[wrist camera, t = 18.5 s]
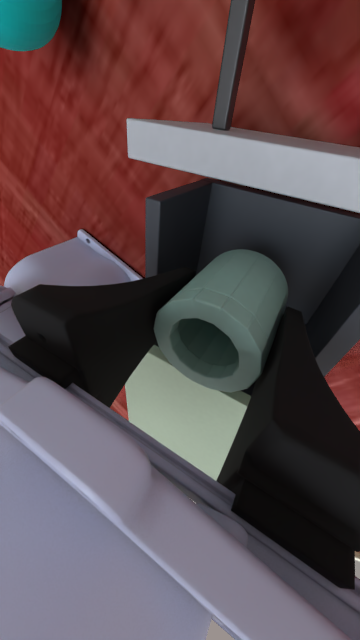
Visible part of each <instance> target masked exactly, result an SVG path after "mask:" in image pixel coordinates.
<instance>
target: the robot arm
mask: <svg viewBox="0 0 360 640" xmlns="http://www.w3.org/2000/svg"><path fill="white" fill-rule="evenodd" d="M195 274H196V271H195V270H193V269H190V268H187V267H183V268H179V269H175V270H172V271H169V272H165V273H162V274H159V275H155V276H151V277H147V278H142V277H141V276H140V275H138V274H137V273H136V272H135V271H133V270H132V269H131V268H130V267H129V266H127V265H126V264H125V263H124V262H122V261H121V260H120V259H119V258H117V257H116V256H115V255H114V254H113V253H111V252H110V251H109V250H108V249H106V248H105V247H104V246H103V245H101V244H100V243H99V242H98V241H97V240H95V239H94V238H93V237H92V236H90V235H89V234H88V233H87V232H85V231H84V230H83V229H81V230H78V234H77V237H76V238H73V239H71V240H68V241H66V242H63V243H60V244H58V245H55V246H53V247H50V248H47V249H45V250H42V251H40V252H37V253H34V254H32V255H29V256H27V257H25V258H24V259H22V260H21V261H19V262H18V263H17V264H16V265H15V266H14V267H13V268H12V269H11V270H10V271H9V273H8V274H7V276H6V279H5V283H4V286H0V640H206V636H207V633H208V629H209V625H210V622H211V619H212V620H213V621H215V622H216V623H217V624H218V625H219V626H220V627H221V628H223V629H224V630H225V631H226V632H227V633H228V634H229V635H231V636H232V637H233V638H234V639H235V640H360V579H358V578H357V577H355V551H356V552H359V551H360V431H359V430H358V428H357V427H356V426H355V425H354V423H353V422H352V421H351V419H350V418H349V416H348V415H347V414H346V412H345V411H344V409H343V408H342V406H341V405H340V403H339V402H338V400H337V399H336V397H335V396H334V394H333V392H332V391H331V389H330V387H329V386H328V384H327V382H326V380H325V378H324V376H323V374H322V372H321V371H320V368H319V366H318V364H317V361H316V359H315V356H314V354H313V351H312V348H311V345H310V342H309V339H308V335H307V332H306V328H305V323H304V318H303V314H302V312H301V311H299V310H296V309H294V308H291V307H288V306H287V308H286V310H285V312H284V314H283V315H282V318H281V320H280V323H279V326H278V328H277V332H276V335H275V338H274V341H273V344H272V347H271V349H270V352H269V355H268V357H267V360H266V363H265V366H264V368H263V371H262V374H261V375H260V376H259V378H258V379H257V380H256V382H255V386H254V389H253V393H252V396H251V399H250V401H249V404H248V406H247V409H246V411H245V414H244V416H243V419H242V421H241V424H240V426H239V429H238V431H237V433H236V436H235V438H234V441H233V443H232V445H231V448H230V450H229V452H228V455H227V457H226V460H225V462H224V464H223V467H222V469H221V471H220V474H219V476H218V478H217V481H215V480H214V479H212V478H211V477H209V476H208V475H207V474H205V473H204V472H202V471H201V470H199V469H198V468H196V467H195V466H193V465H192V464H190V463H189V462H188V461H186V460H185V459H183V458H182V457H180V456H179V455H177V454H176V453H174V452H173V451H171V450H170V449H169V448H167V447H166V446H164V445H163V444H161V443H160V442H158V441H157V440H155V439H154V438H152V437H151V436H150V435H148V434H147V433H145V432H144V431H142V430H141V429H139V428H138V427H136V426H135V425H133V424H132V423H131V422H129V421H128V420H126V419H125V418H123V417H122V416H120V415H119V414H117V413H116V412H114V411H113V410H112V409H110V406H111V405H112V403H113V402H114V400H115V398H116V397H117V395H118V394H119V392H120V391H121V389H122V388H123V386H124V385H125V383H126V382H127V380H128V379H129V377H130V376H131V374H132V373H133V372H134V370H135V369H136V368H137V366H138V365H139V363H140V362H141V361H142V359H143V358H144V357H145V355H146V354H147V353H148V351H149V350H150V349H151V348H152V346H153V345H154V344H155V343H156V342H157V339H156V336H155V333H154V324H155V319H156V314H157V312H158V311H159V310H160V309H161V308H162V307H163V306H164V305H165V304H166V303H167V302H168V301H169V300H170V299H172V298H173V297H174V296H175V295H176V294H177V293H178V292H179V291H180V290H181V289H182V288H183V287H184V286H185V285H187V284H188V283H189V282H190V281H191V280H192V279H193V278H194V277H195ZM187 496H188V497H187ZM191 499H192V500H193V501H194V502H196V504H195V503H194V502H193V501H192V500H191Z"/></svg>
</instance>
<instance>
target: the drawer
mask: <svg viewBox="0 0 360 640" xmlns="http://www.w3.org/2000/svg"><path fill="white" fill-rule="evenodd" d="M254 4H255V0H231V5H230V12H229V19H228V25H227V32H226V38H225V45H224V51H223V58H222V64H221V71H220V78H219V84H218V91H217V97H216V104H215V110H214V117H213V124H209V123H197V122H181V121H165V120H149V119H133V118H128V119H127V142H128V157H129V158H131V159H135V160H139V161H144V162H148V163H152V164H156V165H160V166H164V167H169V168H173V169H177V170H181V171H185V172H190V173H194V174H198V175H202V176H206V177H211V178H215V179H219V180H223V181H227V182H232V183H236V184H240V185H244V186H248V187H252V188H257V189H261V190H265V191H269V192H273V193H278V194H282V195H286V196H290V197H294V198H299V199H303V200H307V201H311V202H315V203H320V204H324V205H328V206H332V207H336V208H340V209H345V210H349V211H353V212H357V213H360V148H359V147H353V146H347V145H341V144H334V143H328V142H322V141H315V140H309V139H303V138H297V137H290V136H284V135H278V134H271V133H265V132H259V131H253V130H246V129H240V128H234V127H231V122H232V117H233V112H234V107H235V101H236V96H237V91H238V86H239V81H240V76H241V71H242V66H243V60H244V55H245V50H246V45H247V40H248V35H249V30H250V24H251V19H252V14H253V9H254ZM237 249H244V250H251V251H255V252H258V253H261V254H263V255H265V256H266V257H268V258H269V259H271V260H272V261H273V262H274V263H275V264H276V265H277V266H278V267H279V268H280V270H281V271H282V273H283V274H284V276H285V279H286V282H287V285H288V298H287V302H286V308H287V306H288V307H291V308H294V309H296V310H299V311H301V312H302V314H303V318H304V323H305V328H306V332H307V335H308V339H309V342H310V345H311V348H312V351H313V354H314V356H315V359H316V361H317V364H318V366H319V368H320V371H321V372H322V374H323V376H324V377H325V375H326V374H327V373H328V372H329V371H330V370H331V369H332V368H333V367H334V366H335V365H336V364H337V363H338V362H339V361H340V360H341V359H342V357H343V356H344V355H345V354H346V353H347V352H348V351H349V350H350V349H351V348H352V347H353V346H354V345H355V344H356V343H357V342H358V341H359V339H360V215H358V214H354V213H350V212H346V211H342V210H338V209H333V208H329V207H325V206H321V205H317V204H313V203H309V202H304V201H300V200H296V199H292V198H288V197H284V196H279V195H275V194H271V193H267V192H263V191H259V190H255V189H250V188H246V187H242V186H238V185H234V184H230V183H225V182H221V181H217V180H213V179H209V178H205V179H202V180H199V181H196V182H193V183H190V184H187V185H184V186H181V187H178V188H175V189H171V190H168V191H165V192H162V193H159V194H156V195H153V196H150V197H147V198H146V278H147V277H151V276H155V275H159V274H162V273H165V272H169V271H172V270H175V269H179V268H183V267H187V268H190V269H193V270H195V271H196V274H195V276H196V275H197V274H198V273H199V272H200V271H202V270H203V269H204V268H205V267H206V266H207V265H208V264H209V263H210V262H212V261H213V260H214V259H215V258H216V257H217V256H219V255H220V254H222V253H224V252H227V251H231V250H237ZM286 308H285V310H286ZM284 312H285V311H284ZM154 345H156V346H158V343H157V342H156V343H155V344H154ZM158 347H159V346H158ZM255 382H256V381H255ZM255 382H254V383H253V384H252V385H251V386H250V387H249V388H248V389H244V390H241V391H242V392H244V393H246V394H248V395H250V396H252V393H253V389H254V386H255Z"/></svg>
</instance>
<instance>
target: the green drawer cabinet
mask: <svg viewBox="0 0 360 640" xmlns="http://www.w3.org/2000/svg"><path fill="white" fill-rule="evenodd" d="M125 389H126V398H127V407H128V416H129V422H131V423H132V424H133V425H135V426H136V427H138V428H139V429H141V430H142V431H144V432H145V433H147V434H148V435H150V436H151V437H152V438H154V439H155V440H157V441H158V442H160V443H161V444H163V445H164V446H166V447H167V448H169V449H170V450H171V451H173V452H174V453H176V454H177V455H179V456H180V457H182V458H183V459H185V460H186V461H188V462H189V463H190V464H192V465H193V466H195V467H196V468H198V469H199V470H201V471H202V472H204V473H205V474H207V475H208V476H209V477H211V478H212V479H214V480H215V481H217V478H218V476H219V474H220V471H221V469H222V467H223V464H224V462H225V460H226V457H227V455H228V452H229V450H230V448H231V445H232V443H233V441H234V438H235V436H236V433H237V431H238V429H239V426H240V424H241V421H242V419H243V416H244V414H245V411H246V409H247V406H248V404H249V401H250V399H251V396H250V395H248V394H246V393H244V392H242V391H241V390H240V391H235V392H231V393H230V392H224V391H218V390H213V389H209V388H206V387H204V386H202V385H200V384H198V383H196V382H194V381H192V380H190V379H189V378H187V377H185V376H184V375H183V374H182V373H181V372H179V371H178V370H177V369H176V368H175V367H173V366H172V364H170V363H169V361H168V360H167V358H166V357H165V356H164V354H163V353H162V351H161V350H160V347H158V346H156V345H153V346H152V348H151V349H150V350H149V351H148V353H147V354H146V355H145V357H144V358H143V359H142V361H141V362H140V363H139V365H138V366H137V368H136V369H135V370H134V372H133V373H132V374H131V376H130V377H129V379H128V380H127V382H126V383H125Z"/></svg>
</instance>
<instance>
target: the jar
mask: <svg viewBox="0 0 360 640" xmlns="http://www.w3.org/2000/svg"><path fill="white" fill-rule="evenodd" d="M287 298H288V285H287V282H286V279H285V276H284V274H283V273H282V271H281V270H280V268H279V267H278V266H277V265H276V264H275V263H274V262H273V261H272V260H271V259H269V258H268V257H266V256H265V255H263V254H261V253H258V252H255V251H251V250H244V249H237V250H231V251H227V252H224V253H222V254H220V255H219V256H217V257H216V258H215V259H214V260H213V261H212V262H210V263H209V264H208V265H207V266H206V267H205V268H204V269H203V270H202V271H200V272H199V273H198V274H197V275H196V276H195V277H194V278H193V279H192V280H191V281H190V282H189V283H188V284H187V285H185V286H184V287H183V288H182V289H181V290H180V291H179V292H178V293H177V294H176V295H175V296H174V297H173V298H172V299H170V300H169V301H168V302H167V303H166V304H165V305H164V306H163V307H162V308H161V309H160V310H159V311H158V312H157V314H156V319H155V324H154V333H155V336H156V339H157V343H158V346H159V347H160V350H161V351H162V353H163V354H164V356H165V357H166V358H167V360H168V361H169V363H170V364H172V366H173V367H175V368H176V369H177V370H178V371H179V372H181V373H182V374H183V375H184V376H185V377H187V378H189V379H190V380H192V381H194V382H196V383H198V384H200V385H202V386H204V387H206V388H209V389H213V390H218V391H224V392H230V393H231V392H235V391H240V390H244V389H248V388H249V387H250V386H251V385H252V384H253V383H254V382H255V381H256V380H257V379H258V378H259V376H260V375H261V374H262V371H263V368H264V366H265V363H266V360H267V357H268V355H269V352H270V349H271V347H272V344H273V341H274V338H275V335H276V332H277V328H278V326H279V323H280V320H281V318H282V315H283V314H284V311H285V308H286V302H287Z"/></svg>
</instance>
